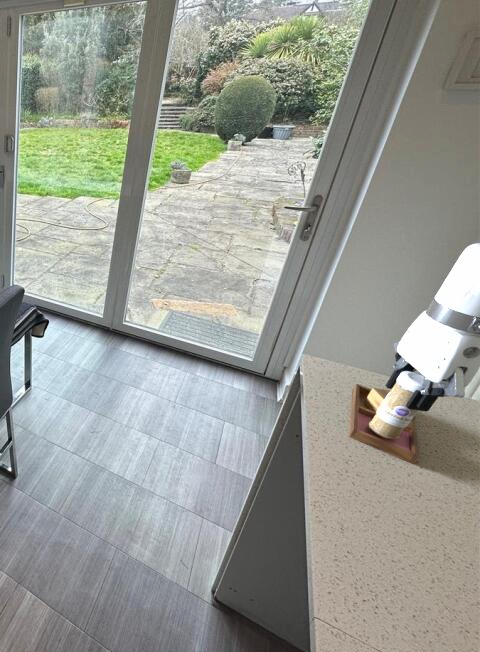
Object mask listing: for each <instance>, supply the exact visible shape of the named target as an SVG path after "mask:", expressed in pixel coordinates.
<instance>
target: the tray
mask: <svg viewBox="0 0 480 652" xmlns="http://www.w3.org/2000/svg"><path fill="white" fill-rule="evenodd" d="M352 390H353V391H351V393H352V394H351V406H350V419H349V430H348V431H349V433H348V437H349V438H350V439H354V440H356V441H359V442H361V443H362V444H365V445H367V446H370V447H372V448H374V449H377V450H379V451H382V452H384V453H387V454H389V455H390V456H394V457H396V458H398V459H401V460H403V461H405V462H407V463H409V464H412V465H415V464H416V462H417V461H418V459H419V458H420V452H419V444H418V442H419V441H418V435H417V425H416V418H415V417H416V414H415V415H414V417H413V418H412V420H411V421H410V423H409V424H408V425H407V427H405V429H404V430H403V432H402V433H401V435H400V437H399V438H398V439H396V440H391V439H387V438H384V437H382V436H380V435H378V434H377V433H375V432H374V431H373V430H372V429H371V428H370V427H369V422H370V421H372V419H373V418H374V416H375V415H376V412H374V411H372V410H371V409H370V408H369V407H368V406H367V405H366V403H365V402H364V401H365V400H366V398H367V396H368V395H369V393H370V391H371V390H372V388H370V387H367V386H364V385H361V384H359V383H356V384H355V385H354V387H353V388H352Z"/></svg>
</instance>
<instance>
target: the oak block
mask: <svg viewBox="0 0 480 652" xmlns="http://www.w3.org/2000/svg"><path fill="white" fill-rule="evenodd" d="M371 389H372V390H371V391H370V393H369V395H368V396H367V398H366V400H365V401H364V402H365V403H366V405H367V406H368V407H369V408H370V409H371V410H372V411H374V412H376V413H377V410H378V409H379V407H380V406H381V404H382V402H383V401H384V399H385V398H386V396H387V395H388V393H389V392H390V391H391V390H392V389H383V388H376V387H372V388H371Z"/></svg>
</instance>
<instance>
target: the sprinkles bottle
mask: <svg viewBox="0 0 480 652" xmlns="http://www.w3.org/2000/svg"><path fill="white" fill-rule="evenodd" d="M424 378H425V376H424V375H423V374H422V373H417V372H416V371H415V372H410V371H404V372H402V373H401V374H400V375H399V377H398V378H397V381H396V384H395V385H394V387H393V388H392V389H390V390H391V391H390V392H389V393H388V395H387V396H386V398H385V399H384V401H383V402H382V404H381V406H380V407H379V409H378V410H377V413H376V415H375V416H374V418H373V419H372V421H370V422H369V427H370V428H371V429H372V430H373V431H374V432H375V433H377V434H378V435H380V436H382V437H384V438H387V439H391V440H396V439H398V438H399V437H400V435H401V433H402V432H403V430H404V429H405V427H407V425H408V424H409V423H410V421H411V420H412V418H413V417H414V415H415V416H416V414H417V413H418V412H419V410H412V409H408V408H407V407H406V404H407V402H408V401H409V399H410V398H411V396H412V395H413V393H414V392H415V391H416V390H421V387H422V384H423V381H424ZM432 388H436V383H433V386H432Z"/></svg>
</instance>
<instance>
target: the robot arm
mask: <svg viewBox="0 0 480 652" xmlns="http://www.w3.org/2000/svg"><path fill="white" fill-rule="evenodd" d="M392 345H393V346H392V347H393V350H394V353H395V354H394V358H395V363H394V364H393V369H394V371H393V372H392V374H391V376H390V377H389V379H388V380H387V382H386V383H385V385H384V386H385V387H386V388H387V390H392V388H393V387H394V385H395V384H396V381H397V378H398V377H399V375H400V374H401V373H402V372H404V371H410V372H415V373H416V371H418V372H419V374H421V375H423V376H425V378H424V381H423V384H422V387H421V390H416V391H415V392H414V393H413V395H412V396H411V398H410V399H409V401H408V402H407V404H406V407H407V408H408V409H412V410H418V412H419V411H420V412H429V411H430V410H431V408H432V407H433V405H434V404H435V403H436V402H437V400H438V399H439V398H445V397H446V398H447V397H453V398H465V396H466V392H465V389H466V387H468V386H469V385H470V384H471V382H472V381H473V379H474V378H475V376H476V375H477V373H478V372H479V370H480V242H476V243H472V244H470V245H468V246H467V247H466V248H465V249H464V250H463V251H462V253H461V254H460V255H459V257H458V259H457V260H456V262H455V263H454V265H453V267H451V270H450V272H449V273H448V274H447V276H446V277H445V280H444V281H443V283H442V285H441V286H440V288H439V289H438V290H437V292H436V294H435V295H434V297H433V299H432V301H431V303H430V304H429V306H428V307H427V309H425V310H424V311H423V312H422V313H420V315H418V317H417V318H416V319H415V320H414V321H413V322H412V323H411V325H410V326H409V327H408V328H407V330H406V331H405V333H404V334H403V336H402V337H401V339H400V340H399V341H396V342H394V343H393V344H392ZM433 383H434V384H437V386H436V387H435V388H432V386H433Z"/></svg>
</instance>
